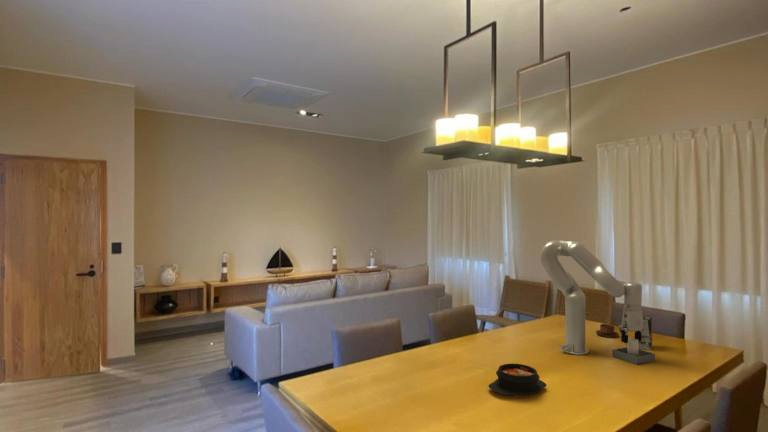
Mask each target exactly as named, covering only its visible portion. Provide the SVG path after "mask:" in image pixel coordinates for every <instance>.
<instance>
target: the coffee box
mask: <svg viewBox="0 0 768 432" xmlns="http://www.w3.org/2000/svg"><path fill="white" fill-rule="evenodd" d="M643 323H644V324H645V325H644V328H643V331H642V333H641V334H642V335H641V341H639V349H640V350H643V351H652V348H653V318H652V317H651V316H644V315H643Z"/></svg>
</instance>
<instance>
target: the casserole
mask: <svg viewBox="0 0 768 432" xmlns="http://www.w3.org/2000/svg"><path fill="white" fill-rule="evenodd" d="M495 373H496V374H495V375H496V376H497V379H496V380H494V381H492V382H491V383H489V384H488V388H489V389H490V390H491V391H493V392H494V393H496V394H497V393H498V394H500V395H502V396H503V395H504V396H509V397H511V396H531V395H535V394H538V393H540V392H541V391H542V390H543V389H544V388H545V387H547V383H545V382H544V381H543V380H541V379H540V375H539V374H538V371H537V369H536V368H535V367H532V366H530V365H527V364H521V363H504V364H501V365H499V366H498V368H497V370H496V372H495Z"/></svg>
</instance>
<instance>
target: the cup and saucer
mask: <svg viewBox="0 0 768 432" xmlns="http://www.w3.org/2000/svg"><path fill="white" fill-rule="evenodd" d="M599 325H600V326H599V329H597V330H595V333H596V334H597V335H598V336H601V337H606V338H616V337H618V336H619V333H618V332H616V331H615V326H614V325H612V324H608V323H602V324H601V323H600V324H599Z"/></svg>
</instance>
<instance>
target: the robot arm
mask: <svg viewBox="0 0 768 432" xmlns="http://www.w3.org/2000/svg"><path fill="white" fill-rule="evenodd" d="M559 256H561V257H571V258H572V259H573V260H574V261H575V262H576V263H577V264H578V265H579V266H580V267H581V268H582V269H583V270H584V271H585V272H586V273H587V274H588V275H589V276H590V277H591V278H592V279H593V280H594V281H596V283H598V284H599V286H600V287H601V288H602V289H603V290H605V291H606V292H607V293H608V295H610V296H612V297H614V298H621V297H622V296H623V311H622V316H621V317H622V319H621V323H620V324H619V325H618V329H619V332H620V334H621V336H620V337H621V339H620V340H621V342H622V343H624V344H627V343H628V338H629V332H631V333H632V332H634V338H635V339H638V341H641V335H642V334H641V333H642V331H643V328H644V325H645V324H644V323H643V316H644V315H643V310H642V303H643V301H642V300H643V299H642V297H643V285H642V284H641V283H639V282H633V281H622V280H619V279H616V277H614V275H613V274H612V273H610V272H609V270H608V269H607V268H606V267H605V266H604V264H603V263H602V262H601V260H599V259H598V257H596V256H595V255H594V254H593V253H592V252H591V251H590V250H589V249H588V248H586V246H585V244H583V243H582V242H580V241H567V240H555V239H554V240H549V241H548V242H546V243H545V244H544V246H543V248H542V249H541V251H540V262H541V264H542V266H543V268H544V270H545V272H546V273H547V275H548V276H549V277H550V280H551V282H552V283H553V285H554V286H555V288H556V289H558V290H559V291H561V293H562V295H563V296H564V310H565V311H564V312H565V315H564V316H565V318H564V320H565V342H564V343H563V344H562V345H559V346H558V348H559V350H562V351H563V352H564V353H567V354H571V355H578V356H579V355H580V356H584V355H588V354H589V352H590V351H589V349H588V348H586V295H585V293H584V292H583V289H581V287H580V286H579V284H578V283H577V281H576V279H575V278H574V277H573V275H572V274H571V273H569V272H567V271H566V270H565V268H564V267H563V264H562V263H561V262H560V260H559V258H558V257H559Z"/></svg>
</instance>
